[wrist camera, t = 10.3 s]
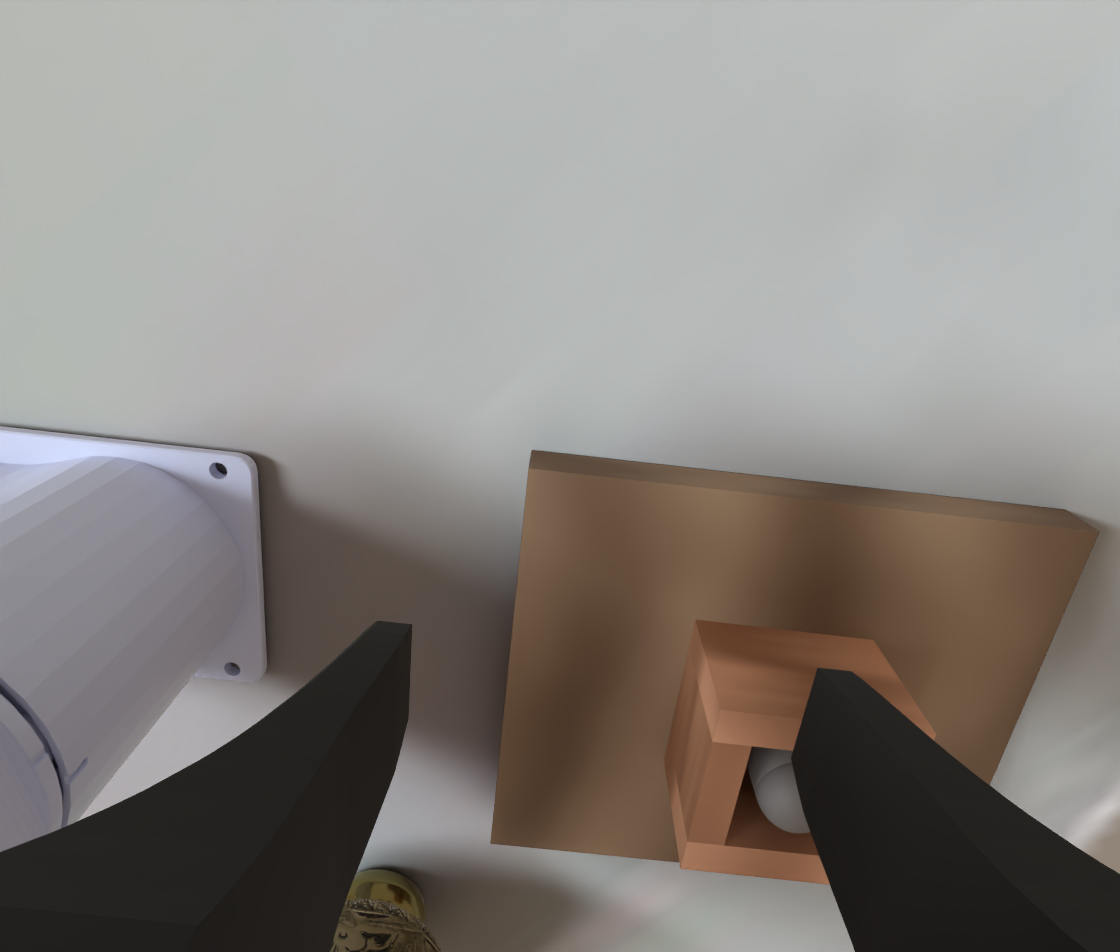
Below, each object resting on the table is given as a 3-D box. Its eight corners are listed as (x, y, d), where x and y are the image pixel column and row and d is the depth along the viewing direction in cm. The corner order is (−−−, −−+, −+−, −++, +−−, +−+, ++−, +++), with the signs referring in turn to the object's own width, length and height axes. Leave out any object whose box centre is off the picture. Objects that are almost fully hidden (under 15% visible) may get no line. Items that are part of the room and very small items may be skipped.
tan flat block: (495, 808, 26) (473, 975, 20) (531, 450, 21) (515, 542, 15) (924, 852, 26) (1018, 1028, 21) (1065, 509, 21) (1238, 621, 16)
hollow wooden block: (663, 760, 23) (680, 868, 19) (695, 619, 21) (720, 709, 17) (827, 778, 23) (874, 889, 20) (873, 640, 21) (936, 734, 18)
